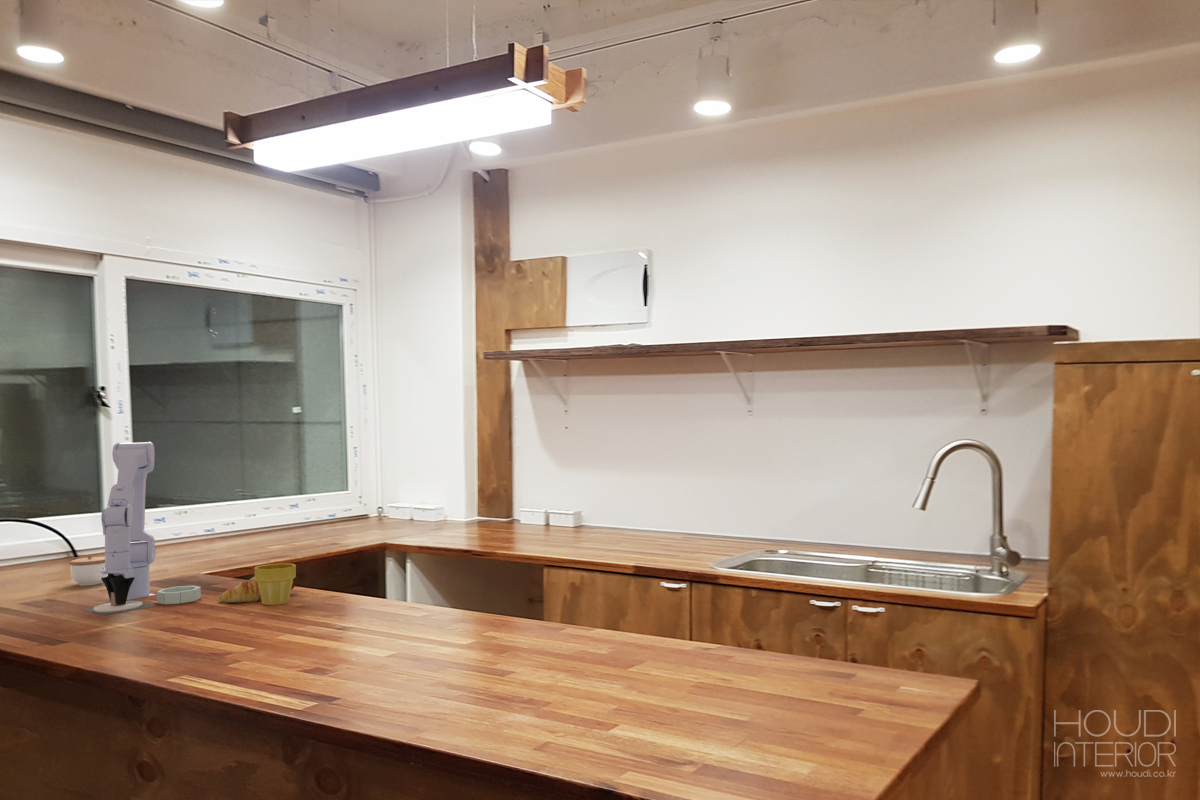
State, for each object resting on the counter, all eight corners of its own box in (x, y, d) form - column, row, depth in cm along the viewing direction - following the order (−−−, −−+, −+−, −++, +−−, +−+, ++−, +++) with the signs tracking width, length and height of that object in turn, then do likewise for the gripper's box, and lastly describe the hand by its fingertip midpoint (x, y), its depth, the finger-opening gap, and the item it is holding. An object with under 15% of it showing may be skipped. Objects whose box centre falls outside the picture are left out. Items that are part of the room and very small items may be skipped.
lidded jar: (117, 580, 273) (116, 551, 274) (94, 586, 263) (93, 556, 263) (86, 581, 274) (85, 552, 275) (61, 587, 264) (61, 557, 264)
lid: (86, 610, 222) (85, 593, 222) (130, 602, 231) (130, 586, 231) (104, 614, 215) (104, 597, 216) (150, 606, 224) (150, 589, 224)
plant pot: (301, 598, 232) (301, 562, 232) (289, 605, 222) (288, 568, 222) (263, 599, 232) (262, 563, 232) (249, 607, 221) (248, 569, 222)
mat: (82, 612, 223) (82, 609, 223) (130, 603, 232) (129, 601, 232) (105, 617, 214) (105, 615, 214) (154, 608, 224) (154, 606, 224)
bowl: (151, 603, 231) (151, 590, 231) (188, 597, 239) (187, 584, 239) (169, 607, 225) (169, 594, 225) (206, 600, 233) (206, 587, 233)
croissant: (222, 619, 224) (227, 594, 222) (208, 598, 231) (213, 573, 228) (299, 604, 239) (304, 580, 237) (284, 584, 246) (289, 561, 243)
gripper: (89, 551, 225) (89, 603, 225) (113, 555, 216) (114, 609, 216) (117, 548, 231) (118, 598, 230) (142, 551, 222) (143, 603, 221)
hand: (118, 603), depth 223 cm, fingers closed on lid, 3 cm apart
